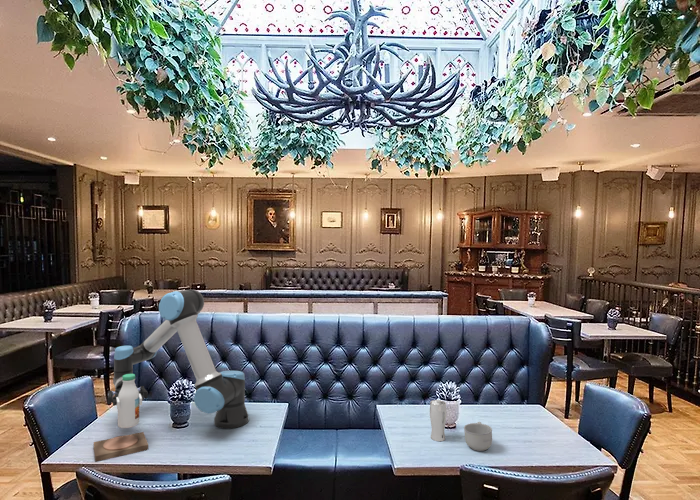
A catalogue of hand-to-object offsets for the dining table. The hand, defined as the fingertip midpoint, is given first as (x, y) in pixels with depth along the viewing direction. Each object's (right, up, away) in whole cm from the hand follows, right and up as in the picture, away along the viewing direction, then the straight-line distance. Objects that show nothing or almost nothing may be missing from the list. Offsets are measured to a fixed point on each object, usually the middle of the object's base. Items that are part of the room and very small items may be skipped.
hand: (129, 403), depth 167 cm
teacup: (+138, -19, +6) cm, 140 cm away
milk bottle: (-3, -10, +4) cm, 11 cm away
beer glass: (+123, -19, +13) cm, 125 cm away
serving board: (-5, -18, +2) cm, 19 cm away
